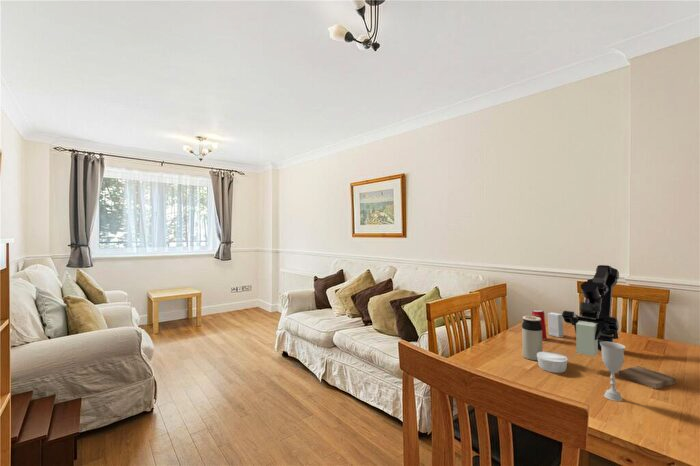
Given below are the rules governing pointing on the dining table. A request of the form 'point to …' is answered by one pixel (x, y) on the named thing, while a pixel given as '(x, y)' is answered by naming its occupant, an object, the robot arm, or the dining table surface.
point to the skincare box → (555, 324)
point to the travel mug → (531, 337)
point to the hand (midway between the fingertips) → (585, 337)
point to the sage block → (586, 338)
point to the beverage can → (541, 315)
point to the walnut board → (647, 377)
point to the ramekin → (552, 362)
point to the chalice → (612, 365)
